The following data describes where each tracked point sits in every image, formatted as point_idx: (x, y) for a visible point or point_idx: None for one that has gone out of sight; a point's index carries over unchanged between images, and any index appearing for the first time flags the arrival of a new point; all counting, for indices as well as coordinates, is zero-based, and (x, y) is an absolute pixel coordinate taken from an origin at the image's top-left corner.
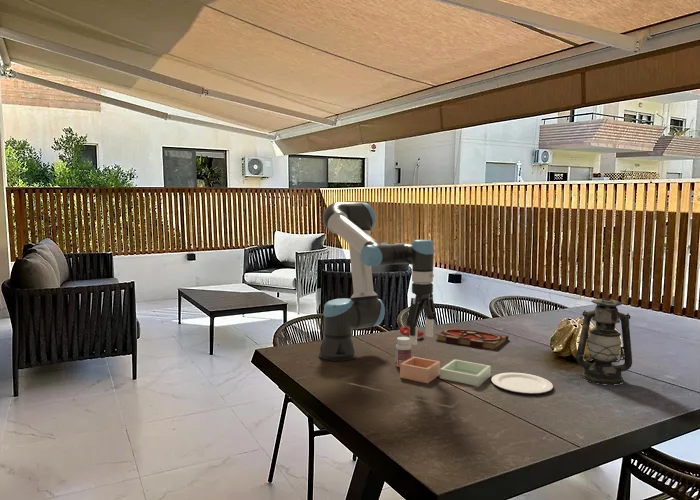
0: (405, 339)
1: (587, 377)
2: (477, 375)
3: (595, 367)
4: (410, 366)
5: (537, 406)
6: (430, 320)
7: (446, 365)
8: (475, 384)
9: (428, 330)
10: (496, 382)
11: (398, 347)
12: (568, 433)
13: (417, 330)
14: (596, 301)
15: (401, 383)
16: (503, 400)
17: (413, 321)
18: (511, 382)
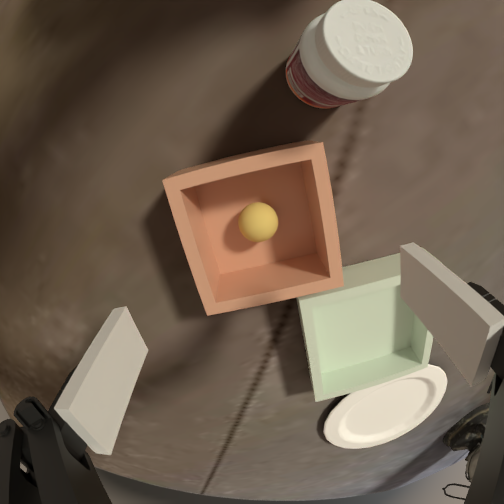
0: (360, 62)
1: (458, 428)
2: (323, 397)
3: (468, 440)
4: (179, 235)
5: (290, 458)
6: (471, 367)
7: (357, 290)
8: (310, 378)
9: (423, 294)
10: (354, 398)
11: (303, 45)
12: (225, 488)
13: (119, 427)
14: None
15: (148, 209)
16: (273, 431)
17: (35, 486)
18: (388, 397)
